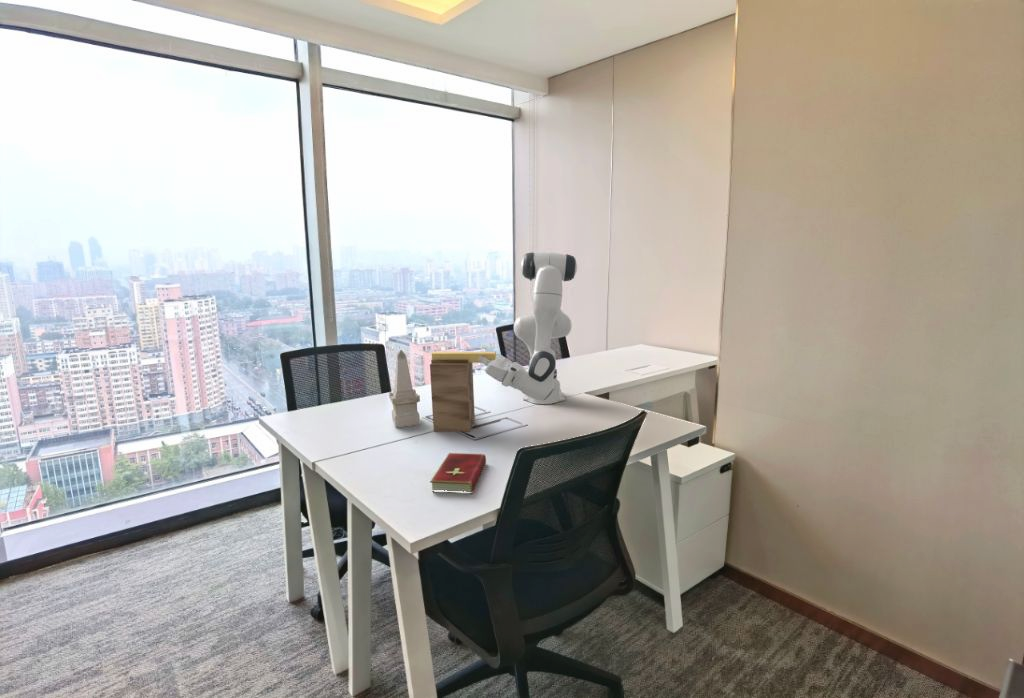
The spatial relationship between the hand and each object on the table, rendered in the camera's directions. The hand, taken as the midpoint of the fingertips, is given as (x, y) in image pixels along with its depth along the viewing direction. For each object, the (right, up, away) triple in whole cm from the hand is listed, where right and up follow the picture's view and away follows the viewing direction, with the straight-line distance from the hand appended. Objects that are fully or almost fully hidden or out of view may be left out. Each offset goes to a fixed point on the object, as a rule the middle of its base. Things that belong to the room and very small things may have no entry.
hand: (480, 355), depth 196 cm
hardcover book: (-4, -37, -39) cm, 54 cm away
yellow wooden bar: (-6, -2, +1) cm, 7 cm away
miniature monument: (-31, -27, +14) cm, 43 cm away
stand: (-10, -28, +7) cm, 30 cm away
